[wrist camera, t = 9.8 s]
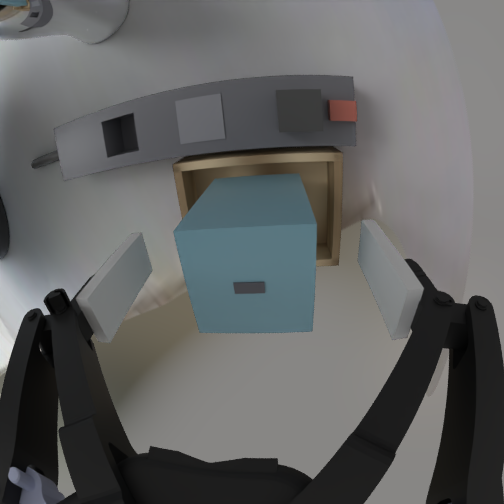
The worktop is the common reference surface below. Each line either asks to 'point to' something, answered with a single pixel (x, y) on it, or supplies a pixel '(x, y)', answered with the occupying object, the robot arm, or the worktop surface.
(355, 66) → the worktop surface
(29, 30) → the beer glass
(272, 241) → the block
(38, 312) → the robot arm
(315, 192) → the tray
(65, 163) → the power strip
